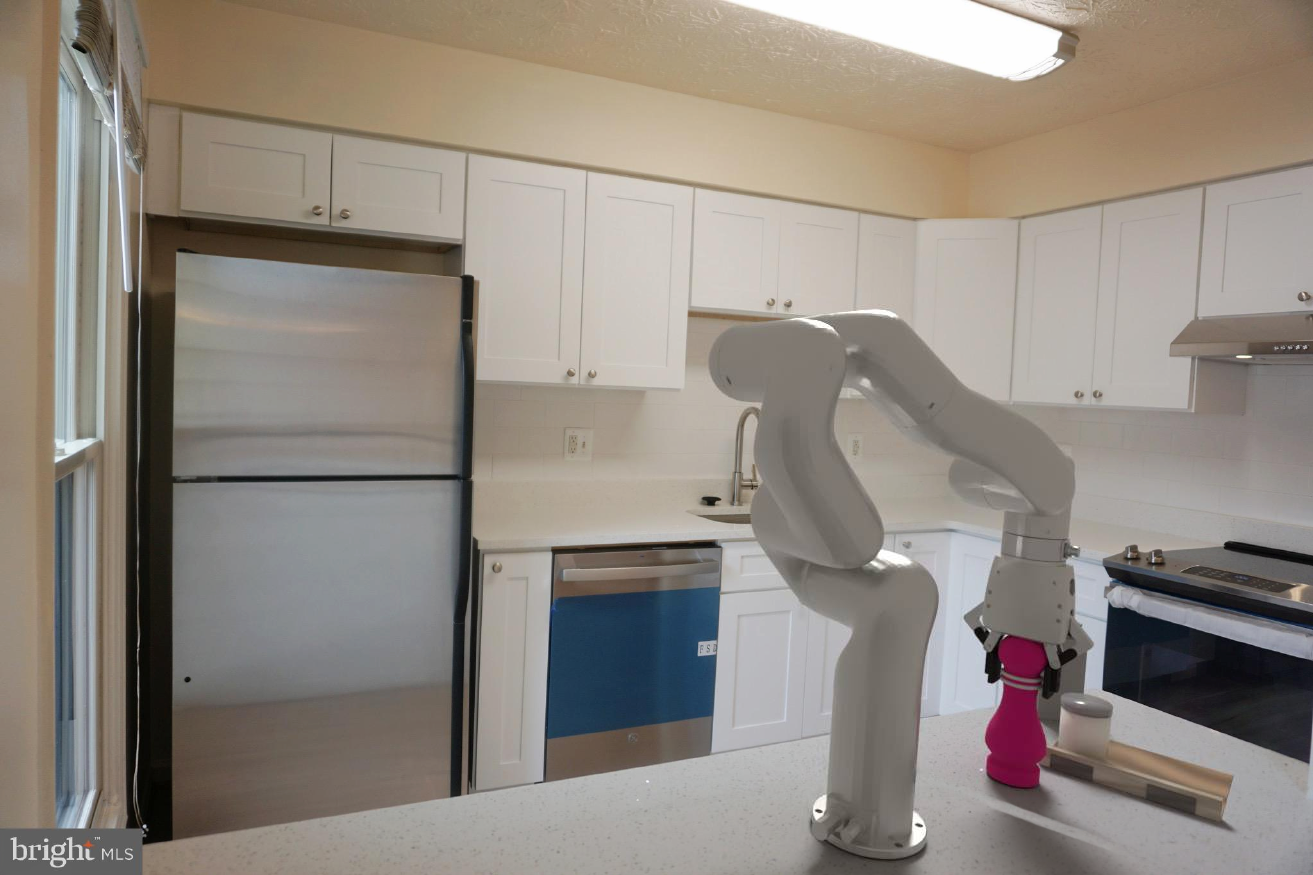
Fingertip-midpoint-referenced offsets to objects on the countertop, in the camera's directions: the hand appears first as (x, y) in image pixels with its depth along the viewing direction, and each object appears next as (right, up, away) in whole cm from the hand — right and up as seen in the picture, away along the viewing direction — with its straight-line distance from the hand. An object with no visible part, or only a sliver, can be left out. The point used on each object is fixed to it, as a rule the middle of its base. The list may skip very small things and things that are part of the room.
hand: (1020, 687), depth 101 cm
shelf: (+17, -13, +5) cm, 22 cm away
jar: (+12, -12, +7) cm, 18 cm away
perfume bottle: (+15, -12, +24) cm, 31 cm away
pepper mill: (-1, -12, +1) cm, 12 cm away
